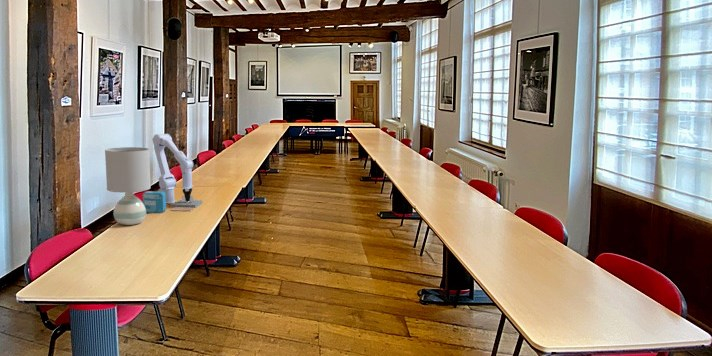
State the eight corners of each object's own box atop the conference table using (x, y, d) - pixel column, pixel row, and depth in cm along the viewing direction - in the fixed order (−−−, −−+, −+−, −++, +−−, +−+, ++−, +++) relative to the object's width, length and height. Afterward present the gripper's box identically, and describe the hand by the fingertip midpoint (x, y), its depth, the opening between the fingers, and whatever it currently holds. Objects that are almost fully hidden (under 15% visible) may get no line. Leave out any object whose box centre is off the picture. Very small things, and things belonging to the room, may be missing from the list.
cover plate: (172, 207, 334) (172, 204, 334) (180, 202, 348) (180, 199, 348) (195, 208, 334) (195, 205, 334) (202, 203, 348) (202, 200, 348)
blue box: (143, 212, 320) (142, 192, 318) (146, 210, 324) (145, 191, 322) (163, 213, 319) (162, 193, 317) (166, 211, 324) (165, 191, 322)
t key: (181, 206, 339) (181, 196, 338) (182, 205, 341) (181, 195, 340) (193, 205, 341) (193, 196, 340) (193, 204, 343) (193, 195, 342)
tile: (170, 210, 325) (170, 209, 325) (175, 207, 333) (175, 207, 333) (190, 211, 325) (190, 210, 325) (194, 208, 333) (194, 207, 333)
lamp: (99, 225, 288) (95, 150, 281) (129, 217, 308) (126, 146, 301) (131, 230, 280) (128, 152, 274) (160, 221, 300) (158, 148, 294)
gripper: (193, 181, 333) (194, 202, 335) (194, 177, 346) (194, 198, 349) (181, 181, 331) (182, 203, 333) (182, 177, 345) (183, 198, 347)
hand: (187, 200), depth 341 cm, fingers closed on t key, 3 cm apart
